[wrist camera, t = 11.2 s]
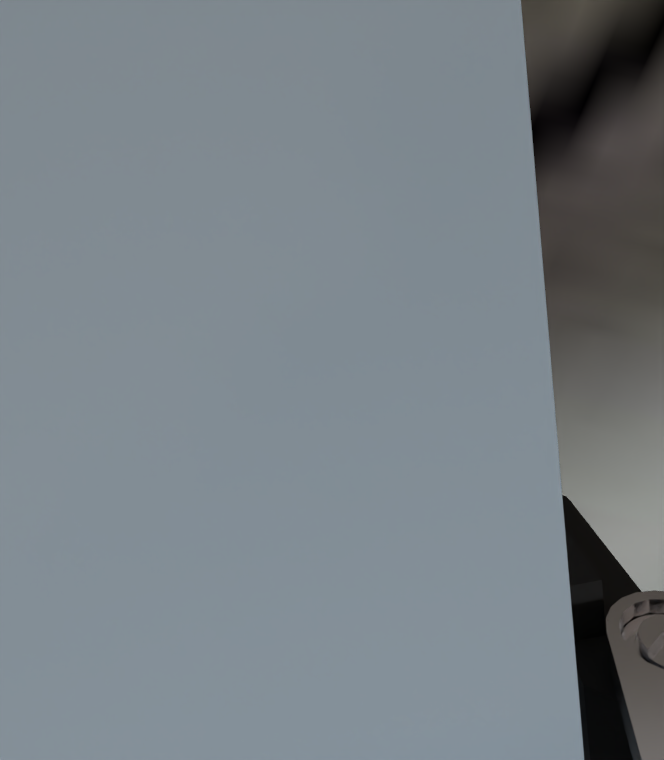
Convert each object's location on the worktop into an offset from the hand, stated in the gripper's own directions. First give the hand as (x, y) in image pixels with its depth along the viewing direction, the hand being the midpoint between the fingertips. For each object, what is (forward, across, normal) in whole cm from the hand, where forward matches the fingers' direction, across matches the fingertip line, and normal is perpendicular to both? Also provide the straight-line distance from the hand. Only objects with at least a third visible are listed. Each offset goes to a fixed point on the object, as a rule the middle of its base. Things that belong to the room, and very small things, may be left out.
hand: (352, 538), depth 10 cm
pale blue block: (+4, 0, 0) cm, 4 cm away
